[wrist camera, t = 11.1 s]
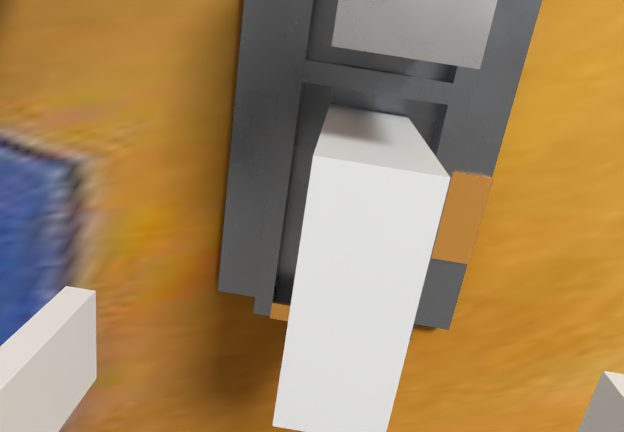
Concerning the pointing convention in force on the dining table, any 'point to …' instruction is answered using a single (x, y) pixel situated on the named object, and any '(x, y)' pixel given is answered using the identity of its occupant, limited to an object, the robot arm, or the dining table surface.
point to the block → (358, 271)
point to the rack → (372, 96)
